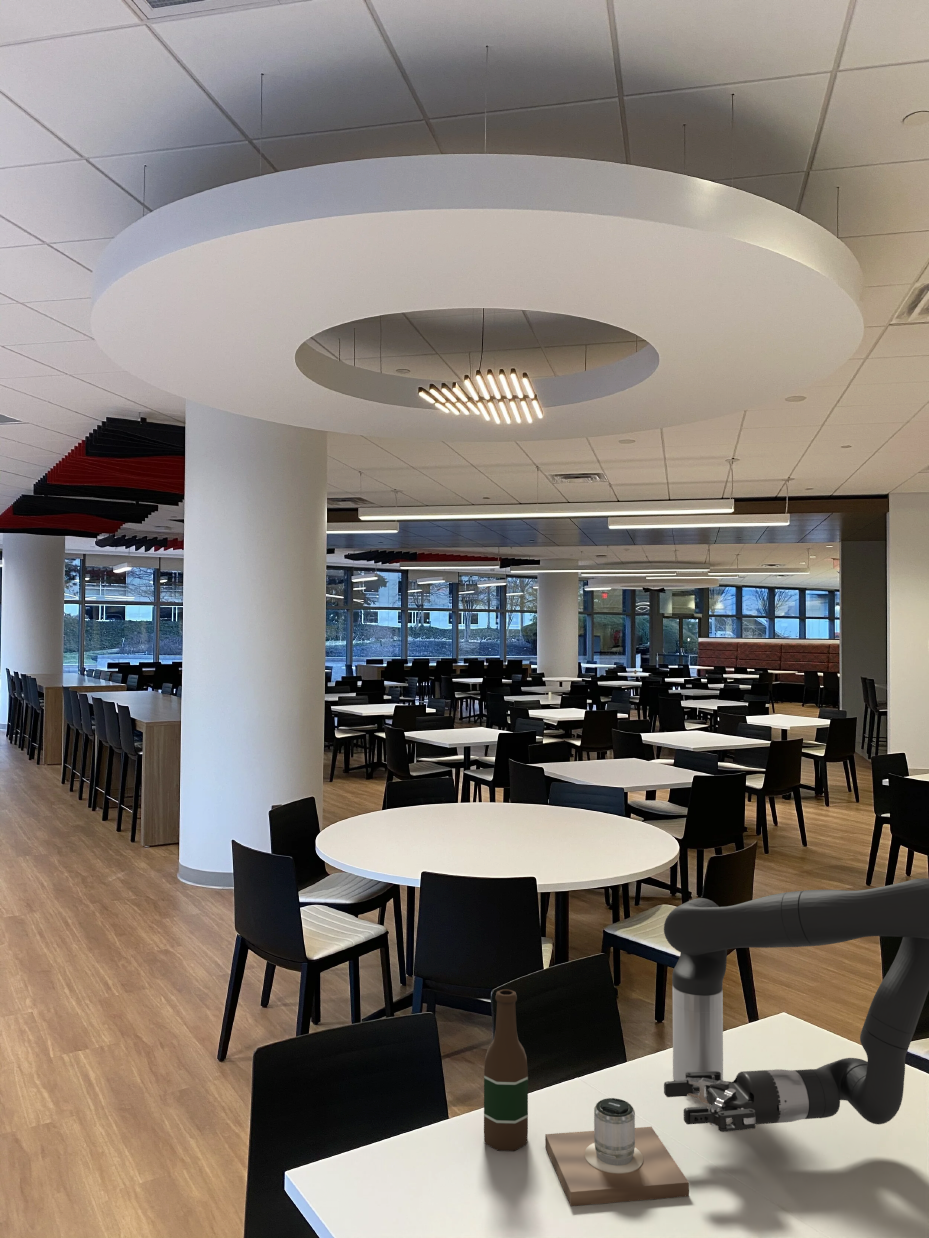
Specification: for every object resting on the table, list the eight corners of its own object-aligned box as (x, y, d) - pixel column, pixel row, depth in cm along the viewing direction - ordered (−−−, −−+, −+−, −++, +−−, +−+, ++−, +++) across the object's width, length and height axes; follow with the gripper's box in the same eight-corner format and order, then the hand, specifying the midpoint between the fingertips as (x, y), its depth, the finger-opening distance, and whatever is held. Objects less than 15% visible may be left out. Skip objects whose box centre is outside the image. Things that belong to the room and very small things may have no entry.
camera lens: (602, 1140, 144) (602, 1090, 144) (640, 1151, 141) (640, 1100, 141) (588, 1160, 139) (588, 1107, 139) (627, 1171, 136) (627, 1117, 136)
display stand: (545, 1146, 146) (545, 1132, 146) (651, 1138, 149) (651, 1125, 149) (570, 1205, 131) (570, 1190, 131) (689, 1196, 133) (688, 1180, 133)
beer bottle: (536, 1133, 150) (536, 987, 151) (519, 1157, 143) (519, 1003, 144) (493, 1123, 154) (493, 980, 155) (474, 1145, 147) (475, 996, 148)
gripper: (751, 1052, 151) (658, 1058, 149) (793, 1093, 137) (691, 1100, 135) (751, 1098, 151) (658, 1104, 149) (793, 1144, 137) (691, 1151, 134)
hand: (674, 1102), depth 142 cm, fingers open, 8 cm apart
